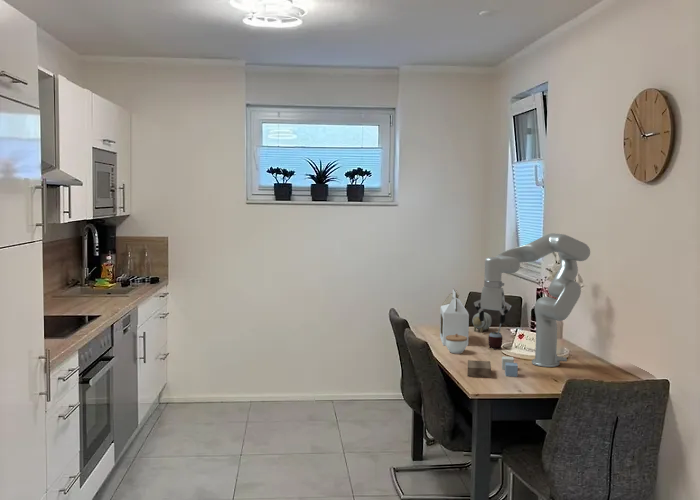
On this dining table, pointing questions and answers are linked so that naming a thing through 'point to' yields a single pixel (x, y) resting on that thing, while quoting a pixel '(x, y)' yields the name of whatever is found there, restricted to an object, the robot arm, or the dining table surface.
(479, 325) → the toy sheep
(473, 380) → the dining table surface
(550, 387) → the dining table surface
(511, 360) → the cream block
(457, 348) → the lidded jar
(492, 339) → the mate gourd
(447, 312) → the gable box
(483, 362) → the walnut base block
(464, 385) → the dining table surface
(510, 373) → the slate blue block
